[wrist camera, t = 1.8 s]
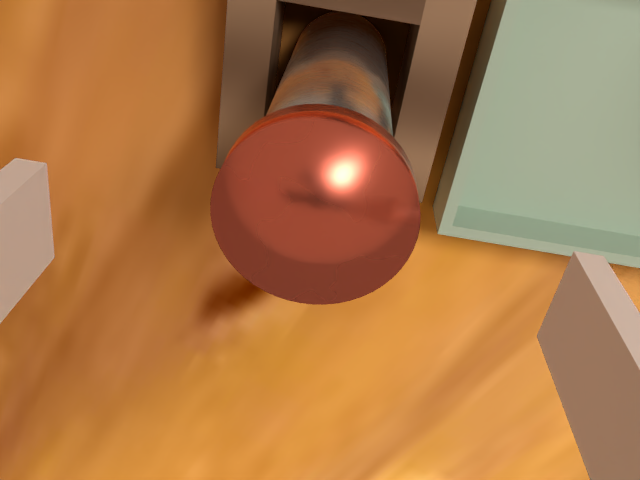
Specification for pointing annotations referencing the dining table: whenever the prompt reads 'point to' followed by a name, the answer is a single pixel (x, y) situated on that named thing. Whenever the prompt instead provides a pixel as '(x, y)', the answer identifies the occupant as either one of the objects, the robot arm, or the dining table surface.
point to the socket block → (413, 83)
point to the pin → (321, 175)
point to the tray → (550, 132)
